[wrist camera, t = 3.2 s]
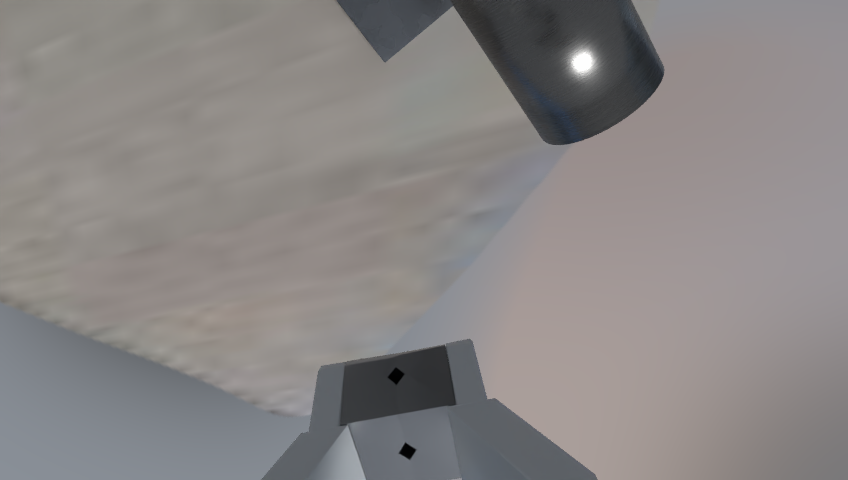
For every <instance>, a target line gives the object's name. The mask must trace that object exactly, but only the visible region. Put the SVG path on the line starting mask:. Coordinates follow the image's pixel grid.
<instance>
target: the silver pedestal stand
mask: <svg viewBox="0 0 848 480" xmlns="http://www.w3.org/2000/svg"><path fill="white" fill-rule="evenodd" d="M337 2H338V3H339V4H340V5H341V7H342V8H343V9H344V11H345V12H346V13H347V14H348V16H349V17H350V18H351V20H352V21H353V22H354V23H355V25H356V26H357V27H358V29H359V30H360V31H361V33H362V34H363V35H364V36H365V38H366V39H367V40H368V42H369V43H370V44H371V45H372V47H373V48H374V49H375V51H376V52H377V53H378V55H379V56H380V57H381V58H382V60H383V61H384V62H386V61H387V60H389V59H390V58H391V57H392V56H393V55H395V54H396V53H397V52H398V51H399V50H401V49H402V48H403V47H404V46H405V45H407V44H408V43H409V42H410V41H411V40H413V39H414V38H415V37H416V36H417V35H419V34H420V33H421V32H422V31H423V30H425V29H426V28H427V27H428V26H429V25H431V24H432V23H433V22H434V21H435V20H437V19H438V18H439V17H440V16H441V15H442V14H444V13H445V12H446V11H447V10H448V9H450V8H451V7H452V6H453V4H452V3H451V1H450V0H337Z"/></svg>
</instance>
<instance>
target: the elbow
mask: <svg viewBox="0 0 848 480" xmlns="http://www.w3.org/2000/svg"><path fill="white" fill-rule="evenodd" d="M450 1H451V3H452V4H453V6H454V7H455V9H456V10H457V12H458V13H459V15H460V16H461V18H462V19H463V21H464V22H465V24H466V25H467V27H468V28H469V30H470V31H471V33H472V34H473V36H474V37H475V39H476V40H477V42H478V43H479V45H480V46H481V48H482V49H483V51H484V52H485V54H486V55H487V57H488V58H489V60H490V61H491V63H492V64H493V66H494V67H495V69H496V70H497V72H498V73H499V75H500V76H501V78H502V79H503V81H504V82H505V84H506V85H507V87H508V88H509V90H510V91H511V93H512V94H513V96H514V97H515V99H516V100H517V102H518V103H519V105H520V106H521V108H522V109H523V111H524V112H525V114H526V115H527V117H528V118H529V120H530V121H531V123H532V124H533V126H534V127H535V129H536V130H537V132H538V133H539V135H540V136H541V138H542V139H543V141H545V142H546V143H548V144H552V145H564V144H570V143H575V142H578V141H582V140H584V139H587V138H590V137H592V136H594V135H597V134H599V133H601V132H603V131H605V130H607V129H609V128H610V127H612V126H614V125H615V124H617V123H619V122H620V121H622V120H623V119H625V118H626V117H628V116H629V115H630V114H632V113H633V112H634V111H635V110H637V109H638V108H639V107H640V106H641V105H642V104H643V103H644V102H646V100H647V99H648V98H649V97H650V96H651V95H652V94H653V93H654V92H655V90H656V89H657V88H658V86H659V84H660V83H661V81H662V78H663V75H664V66H663V64H662V62H661V60H660V58H659V56H658V54H657V52H656V50H655V48H654V46H653V44H652V42H651V40H650V38H649V36H648V34H647V31H646V29H645V27H644V25H643V23H642V21H641V19H640V17H639V15H638V13H637V11H636V9H635V7H634V5H633V3H632V1H631V0H450Z"/></svg>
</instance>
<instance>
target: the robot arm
mask: <svg viewBox="0 0 848 480" xmlns="http://www.w3.org/2000/svg"><path fill="white" fill-rule="evenodd" d="M446 350H447V351H446ZM448 361H449V362H448ZM449 366H450V367H449ZM451 377H452V378H451ZM457 478H462V480H597V478H596V475H595V474H594V473H593V472H591V471H590V470H589V469H587V468H586V467H585V466H583V465H582V464H581V463H579V462H578V461H576V460H575V459H574V458H573V457H571V456H570V455H569V454H567V453H566V452H565V451H564V450H562V449H561V448H560V447H558V446H557V445H556V444H554V443H553V442H552V441H551V440H549V439H548V438H546V437H545V436H544V435H543V434H541V433H540V432H539V431H537V430H536V429H535V428H533V427H532V426H531V425H530V424H528V423H527V422H525V421H524V420H523V419H522V418H520V417H519V416H518V415H516V414H515V413H514V412H512V411H511V410H510V409H508V408H507V407H506V406H505V405H503V404H502V403H501V402H499V401H498V400H497V399H495V398H494V399H488V400H487V396H486V392H485V389H484V385H483V381H482V377H481V373H480V369H479V365H478V361H477V357H476V353H475V349H474V346H473V342H472V340H471V339H467V340H462V341H456V342H451V343H447V344H446V346H445V345H439V346H434V347H429V348H423V349H419V350H413V351H407V352H402V353H397V354H390V355H384V356H377V357H371V358H365V359H358V360H352V361H347V362H342V363H336V364H330V365H324V366H321V368H320V369H319V371H318V375H317V382H316V388H315V395H314V401H313V408H312V414H311V421H310V427H309V432H306V433H301V434H300V435H299V436H298V438H297V439H296V440H295V441H294V442H293V443H292V444H291V446H290V447H289V448H288V449H287V450H286V451H285V453H284V454H283V455H282V456H281V457H280V458H279V460H278V461H277V462H276V463H275V464H274V465H273V467H272V468H271V469H270V470H269V471H268V472H267V474H266V475H265V476H264V477H263V478H262V480H450V479H457Z"/></svg>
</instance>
